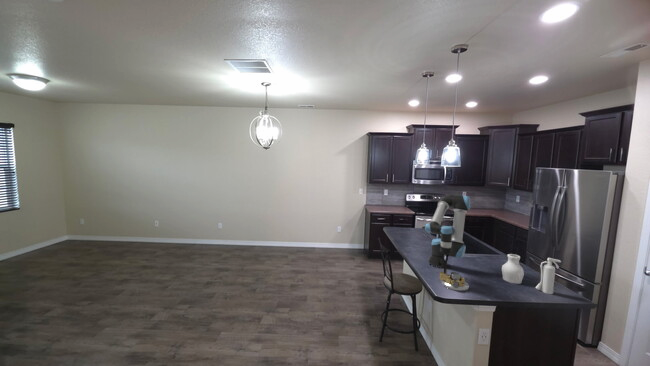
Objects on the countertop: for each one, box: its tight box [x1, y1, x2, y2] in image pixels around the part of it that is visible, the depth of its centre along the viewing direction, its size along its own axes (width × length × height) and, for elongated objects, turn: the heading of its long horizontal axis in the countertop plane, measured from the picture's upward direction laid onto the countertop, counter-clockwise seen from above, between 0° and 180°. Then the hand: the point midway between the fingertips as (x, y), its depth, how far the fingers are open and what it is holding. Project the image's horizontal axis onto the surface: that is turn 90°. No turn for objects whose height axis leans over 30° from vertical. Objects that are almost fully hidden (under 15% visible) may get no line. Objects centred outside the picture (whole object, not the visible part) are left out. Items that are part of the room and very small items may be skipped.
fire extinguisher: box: [535, 257, 562, 295], centre depth 183 cm, size 7×12×25 cm, turn 65°
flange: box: [441, 271, 470, 292], centre depth 189 cm, size 18×18×9 cm
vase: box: [501, 253, 525, 285], centre depth 201 cm, size 14×14×20 cm
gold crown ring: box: [439, 271, 466, 287], centre depth 190 cm, size 17×12×5 cm
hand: (444, 276), depth 196 cm, fingers closed
